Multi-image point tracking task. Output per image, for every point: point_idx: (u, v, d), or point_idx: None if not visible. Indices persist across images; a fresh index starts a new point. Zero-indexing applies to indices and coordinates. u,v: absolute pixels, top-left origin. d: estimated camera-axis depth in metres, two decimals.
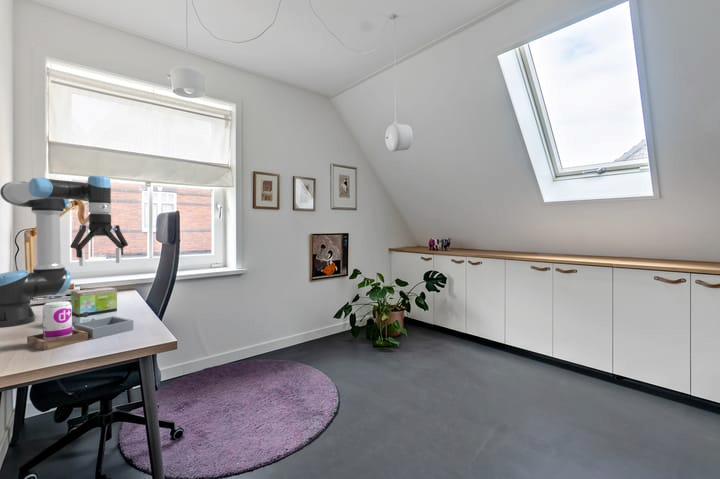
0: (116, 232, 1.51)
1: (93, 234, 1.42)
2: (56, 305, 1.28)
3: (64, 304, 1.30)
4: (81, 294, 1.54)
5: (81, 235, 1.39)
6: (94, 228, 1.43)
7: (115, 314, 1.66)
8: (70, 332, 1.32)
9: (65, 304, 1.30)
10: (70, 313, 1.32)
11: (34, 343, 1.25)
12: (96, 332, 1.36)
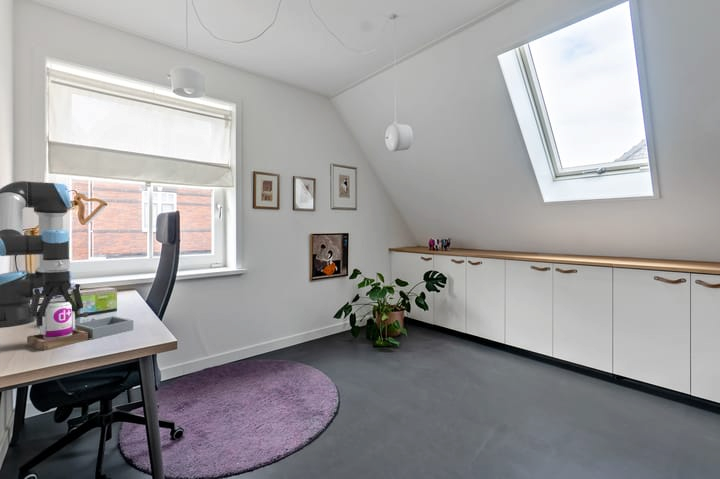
0: (74, 291, 1.36)
1: (50, 296, 1.28)
2: (56, 305, 1.28)
3: (64, 304, 1.30)
4: (81, 294, 1.54)
5: (37, 301, 1.25)
6: (49, 288, 1.28)
7: (115, 314, 1.66)
8: (70, 332, 1.32)
9: (65, 304, 1.30)
10: (70, 313, 1.32)
11: (34, 343, 1.25)
12: (96, 332, 1.36)
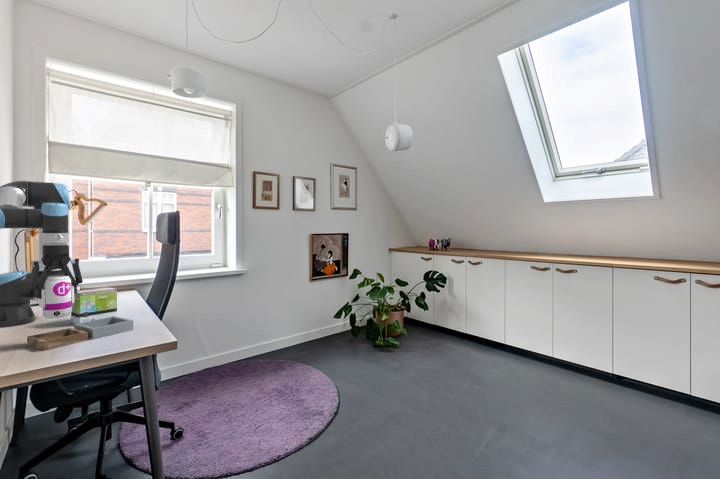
0: (73, 266, 1.35)
1: (49, 269, 1.27)
2: (55, 278, 1.28)
3: (63, 278, 1.30)
4: (81, 294, 1.54)
5: (36, 273, 1.25)
6: (49, 261, 1.28)
7: (115, 314, 1.66)
8: (69, 306, 1.32)
9: (64, 278, 1.30)
10: (70, 287, 1.32)
11: (34, 343, 1.25)
12: (96, 332, 1.36)
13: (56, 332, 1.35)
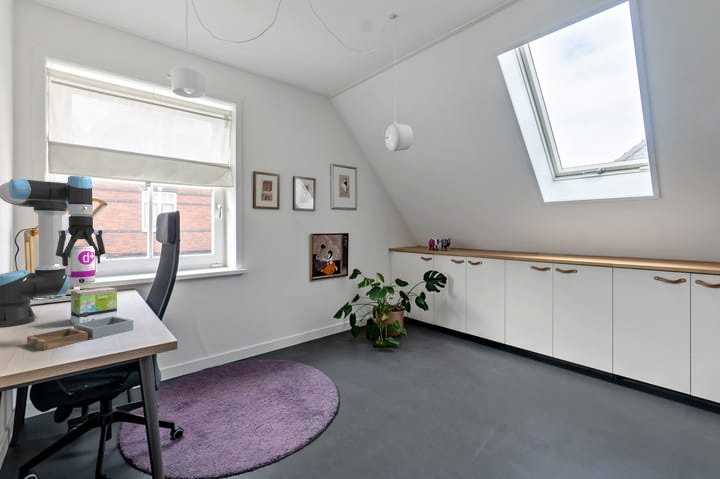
0: (97, 237, 1.42)
1: (75, 239, 1.34)
2: (80, 247, 1.34)
3: (88, 247, 1.36)
4: (81, 294, 1.54)
5: (63, 241, 1.31)
6: (74, 231, 1.34)
7: (115, 314, 1.66)
8: (93, 275, 1.38)
9: (89, 247, 1.37)
10: (94, 257, 1.39)
11: (34, 343, 1.25)
12: (96, 332, 1.36)
13: (56, 332, 1.35)
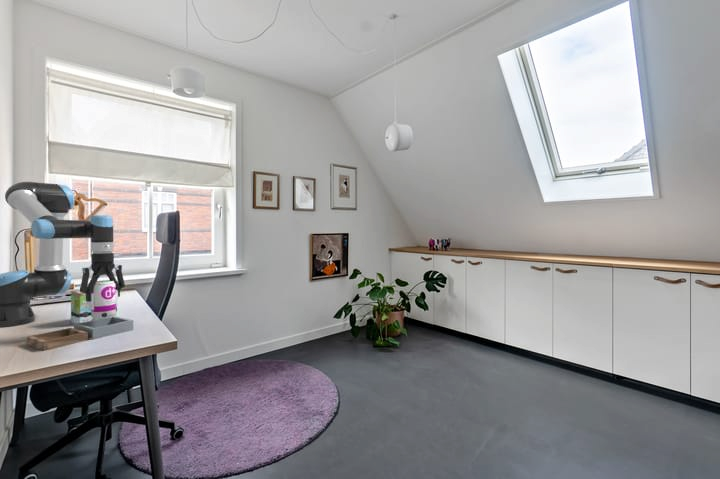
0: (117, 272, 1.49)
1: (98, 275, 1.41)
2: (103, 283, 1.42)
3: (110, 282, 1.43)
4: (81, 294, 1.54)
5: (87, 278, 1.38)
6: (97, 268, 1.41)
7: None
8: (114, 308, 1.46)
9: (110, 282, 1.44)
10: None
11: (34, 343, 1.25)
12: (96, 332, 1.36)
13: (56, 332, 1.35)
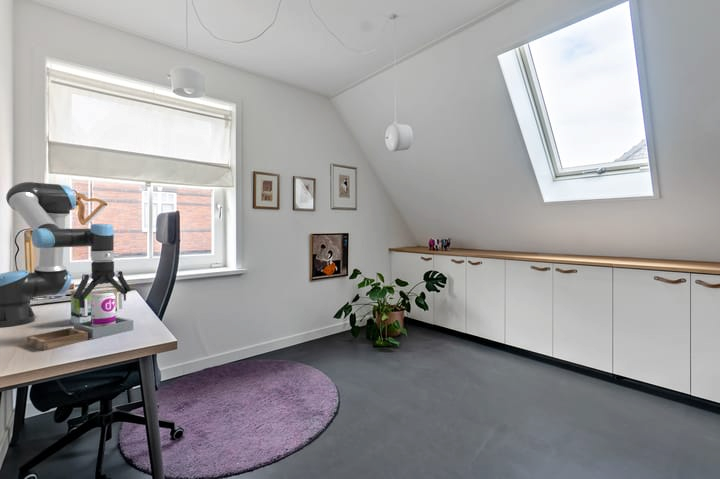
0: (119, 278, 1.50)
1: (96, 283, 1.41)
2: (103, 295, 1.42)
3: (110, 294, 1.43)
4: None
5: (84, 285, 1.37)
6: (97, 277, 1.41)
7: None
8: (114, 320, 1.46)
9: (110, 294, 1.44)
10: None
11: (34, 343, 1.25)
12: (96, 332, 1.36)
13: (56, 332, 1.35)
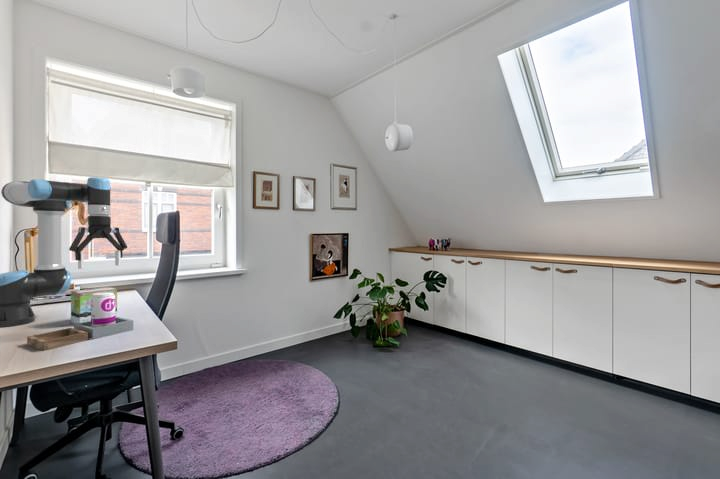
0: (115, 234, 1.49)
1: (92, 237, 1.40)
2: (103, 295, 1.42)
3: (109, 294, 1.43)
4: (81, 294, 1.54)
5: (80, 238, 1.37)
6: (93, 230, 1.41)
7: None
8: (114, 320, 1.46)
9: (110, 294, 1.44)
10: (114, 303, 1.46)
11: (34, 343, 1.25)
12: (96, 332, 1.36)
13: (56, 332, 1.35)
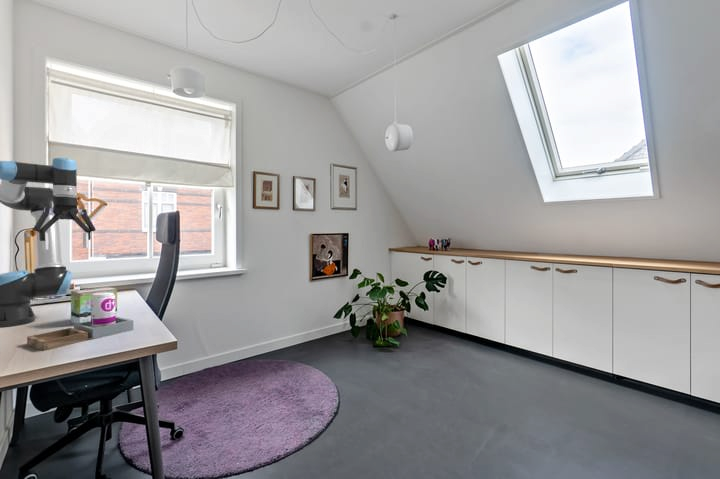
0: (83, 216, 1.48)
1: (57, 217, 1.39)
2: (103, 295, 1.42)
3: (109, 294, 1.44)
4: (81, 294, 1.54)
5: (44, 218, 1.36)
6: (58, 211, 1.40)
7: (115, 314, 1.66)
8: (114, 320, 1.46)
9: (110, 294, 1.44)
10: (114, 303, 1.46)
11: (34, 343, 1.25)
12: (96, 332, 1.36)
13: (56, 332, 1.35)
